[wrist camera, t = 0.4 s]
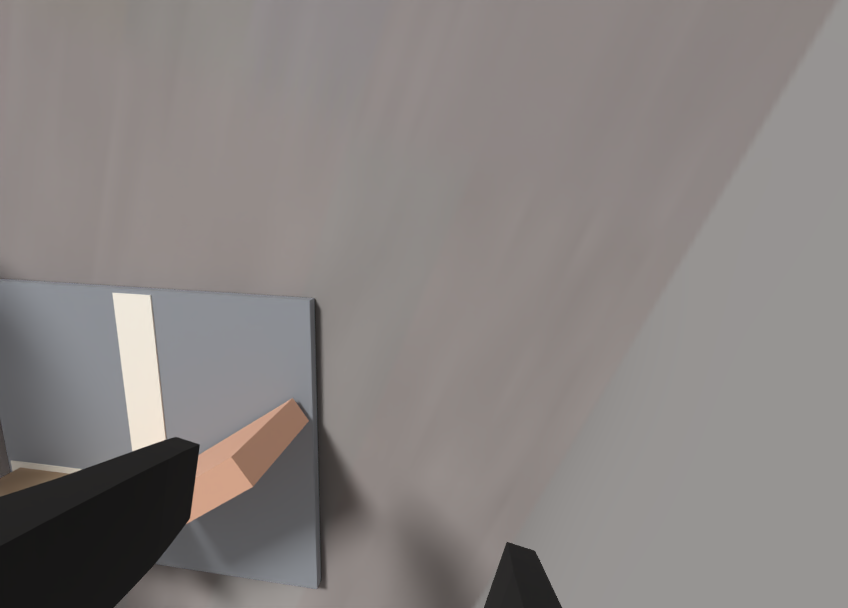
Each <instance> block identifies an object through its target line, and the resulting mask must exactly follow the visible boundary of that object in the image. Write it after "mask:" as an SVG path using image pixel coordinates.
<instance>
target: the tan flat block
mask: <svg viewBox="0 0 848 608" xmlns="http://www.w3.org/2000/svg"><path fill="white" fill-rule="evenodd" d="M308 421H309V420H308V419H307V417H306V416H305V415H304V413H303V412H302V410H301V409H300V407H299V406H298V405H297V403H296V402H295V400H294V399H293V398H292V399H290V400H288V401H287V402H285V403H284V404H282V405H280V406H279V407H277V408H275V409H274V410H272V411H270V412H269V413H267V414H265V415H264V416H262V417H260V418H259V419H257V420H255V421H254V422H252V423H251V424H249V425H247V426H246V427H244V428H242V429H241V430H239V431H237V432H236V433H234V434H232V435H231V436H229V437H227V438H226V439H224V440H223V441H221V442H219V443H218V444H216V445H214V446H213V447H211V448H209V449H208V450H206V451H204V452H203V453H201V454H199V455H198V463H197V470H196V478H195V486H194V493H193V501H192V508H191V516H190V519H189V521H188V522H187V523H189V522H191V521H193V520H194V519H196V518H198V517H200V516H202V515H203V514H205V513H207V512H209V511H211V510H212V509H214V508H216V507H218V506H219V505H221V504H223V503H225V502H227V501H228V500H230V499H232V498H234V497H236V496H237V495H239V494H241V493H243V492H244V491H246V490H248V489H250V488H252V487H253V486H254V485H255V484H256V483H257V481H258V480H259V479H260V478H261V477H262V476H263V474H264V473H265V472H266V471H267V470H268V468H269V467H270V466H271V465H272V464H273V463H274V461H275V460H276V459H277V458H278V457H279V456H280V454H281V453H282V452H283V451H284V450H285V449H286V447H287V446H288V445H289V444H290V443H291V441H292V440H293V439H294V438H295V437H296V436H297V434H298V433H299V432H300V431H301V430H302V429H303V427H304V426H305V425H306V424H307V423H308ZM187 523H186V524H187Z"/></svg>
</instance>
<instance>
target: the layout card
mask: <svg viewBox="0 0 848 608" xmlns="http://www.w3.org/2000/svg"><path fill="white" fill-rule="evenodd" d="M292 398H293V399H294V400H295V402H296V403H297V405H298V406H299V407H300V409H301V410H302V412H303V413H304V415H305V416H306V417H307V419H308V420H309V421H308V423H307V424H306V425H305V426H304V427H303V429H302V430H301V431H300V432H299V433H298V434H297V436H296V437H295V438H294V439H293V440H292V441H291V443H290V444H289V445H288V446H287V447H286V449H285V450H284V451H283V452H282V453H281V454H280V456H279V457H278V458H277V459H276V460H275V461H274V463H273V464H272V465H271V466H270V467H269V468H268V470H267V471H266V472H265V473H264V474H263V476H262V477H261V478H260V479H259V480H258V481H257V483H256V484H255V485H254V486H253V487H252V488H250V489H248V490H246V491H244V492H243V493H241V494H239V495H237V496H236V497H234V498H232V499H230V500H228V501H227V502H225V503H223V504H221V505H219V506H218V507H216V508H214V509H212V510H211V511H209V512H207V513H205V514H203V515H202V516H200V517H198V518H196V519H194V520H193V521H191V522H189V523H187V524H186V525H185V526H184V527H183V529H182V530H181V531H180V533H179V534H178V535H177V537H176V538H175V539H174V541H173V542H172V543H171V545H170V546H169V547H168V548H167V550H166V551H165V552H164V553H163V555H162V556H161V557H160V558H159V560H158V561H157V562H156V563H155V564H158V565H164V566H171V567H177V568H184V569H190V570H197V571H203V572H210V573H216V574H223V575H229V576H236V577H242V578H248V579H255V580H261V581H268V582H274V583H281V584H287V585H294V586H300V587H307V588H313V589H317V588H318V586H319V584H320V582H321V558H320V515H319V473H318V431H317V388H316V346H315V303H314V298H305V297H289V296H272V295H256V294H240V293H224V292H207V291H191V290H175V289H159V288H142V287H126V286H110V285H94V284H77V283H61V282H45V281H29V280H12V279H0V420H1V425H2V430H3V436H4V441H5V446H6V451H7V456H8V461H9V466H10V471H11V472H13V471H14V470H16V469H18V468H20V467H21V468H29V469H37V470H45V471H52V472H60V473H68V474H71V473H74V472H77V471H79V470H82V469H85V468H88V467H91V466H93V465H96V464H99V463H102V462H105V461H107V460H110V459H113V458H116V457H118V456H121V455H124V454H127V453H130V452H132V451H135V450H138V449H141V448H143V447H146V446H149V445H152V444H155V443H158V442H161V441H164V440H167V439H170V438H173V437H178V438H181V439H185V440H188V441H191V442H194V443H197V444H200V448H199V454H201V453H203V452H204V451H206V450H208V449H209V448H211V447H213V446H214V445H216V444H218V443H219V442H221V441H223V440H224V439H226V438H227V437H229V436H231V435H232V434H234V433H236V432H237V431H239V430H241V429H242V428H244V427H246V426H247V425H249V424H251V423H252V422H254V421H255V420H257V419H259V418H260V417H262V416H264V415H265V414H267V413H269V412H270V411H272V410H274V409H275V408H277V407H279V406H280V405H282V404H284V403H285V402H287V401H288V400H290V399H292Z"/></svg>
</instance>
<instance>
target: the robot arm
mask: <svg viewBox="0 0 848 608" xmlns="http://www.w3.org/2000/svg"><path fill="white" fill-rule="evenodd" d="M199 448H200V444H197V443H194V442H191V441H188V440H185V439H181V438H178V437H173V438H170V439H167V440H164V441H161V442H158V443H155V444H152V445H149V446H146V447H143V448H141V449H138V450H135V451H132V452H130V453H127V454H124V455H121V456H118V457H116V458H113V459H110V460H107V461H105V462H102V463H99V464H96V465H93V466H91V467H88V468H85V469H82V470H79V471H77V472H74V473H71V474H68V475H65V476H62V477H59V478H56V479H53V480H50V481H47V482H44V483H41V484H38V485H35V486H32V487H29V488H25V489H22V490H19V491H16V492H13V493H10V494H7V495H4V496H1V497H0V608H114V607H115V606H116V605H117V604H118V603H119V601H120V600H121V599H122V598H123V597H124V596H125V595H126V594H127V593H128V592H129V591H130V590H131V589H132V588H133V587H134V586H135V585H136V584H137V582H138V581H139V580H140V579H141V578H142V577H143V576H144V575H145V574H146V573H147V572H148V571H149V570H150V569H151V568H152V566H153V565H154V564H155V563H156V562H157V561H158V560H159V558H160V557H161V556H162V555H163V553H164V552H165V551H166V550H167V548H168V547H169V546H170V545H171V543H172V542H173V541H174V539H175V538H176V537H177V535H178V534H179V533H180V531H181V530H182V529H183V527H184V526H185V525H186V523H187V522H188V521H189V519H190V516H191V508H192V501H193V493H194V486H195V478H196V470H197V463H198V455H199ZM484 608H562V607H561V605H560V603H559V601H558V598H557V596H556V594H555V592H554V590H553V588H552V586H551V583H550V581H549V579H548V577H547V575H546V573H545V571H544V569H543V566H542V564H541V562H540V560H539V558H538V556H537V554H536V552H535V551H534V550H531V549H527V548H524V547H521V546H518V545H515V544H512V543H508V542H507V543H506V546H505V549H504V552H503V554H502V557H501V560H500V563H499V566H498V569H497V572H496V575H495V577H494V580H493V583H492V586H491V589H490V592H489V595H488V597H487V601H486V604H485V606H484Z"/></svg>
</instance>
